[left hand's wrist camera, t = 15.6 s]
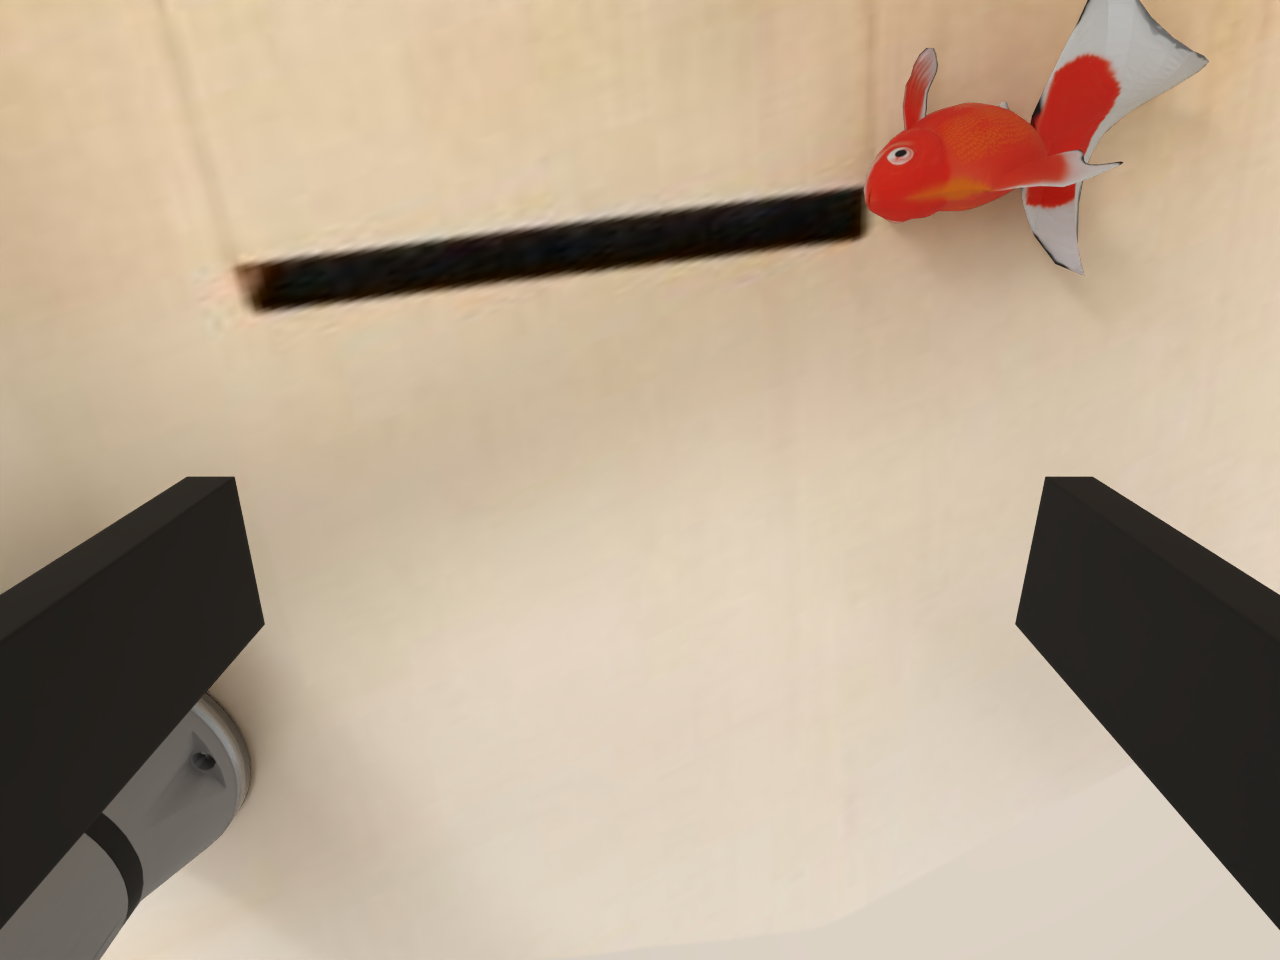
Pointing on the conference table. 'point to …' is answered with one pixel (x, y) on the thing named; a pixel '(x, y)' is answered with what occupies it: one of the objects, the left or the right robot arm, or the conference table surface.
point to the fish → (1030, 129)
